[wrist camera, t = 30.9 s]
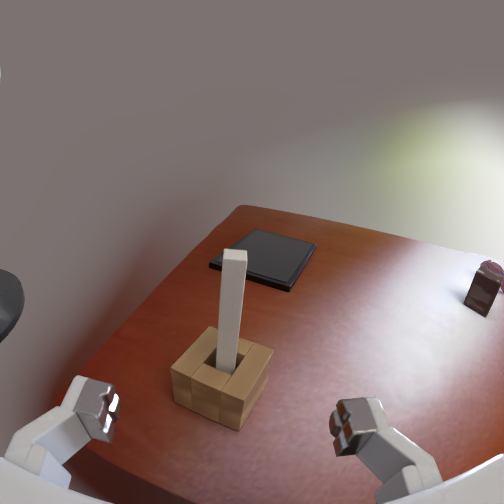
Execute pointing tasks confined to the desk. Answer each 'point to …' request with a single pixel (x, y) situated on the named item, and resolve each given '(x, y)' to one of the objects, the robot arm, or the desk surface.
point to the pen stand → (221, 380)
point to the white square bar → (230, 308)
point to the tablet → (271, 258)
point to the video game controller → (495, 270)
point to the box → (483, 290)
